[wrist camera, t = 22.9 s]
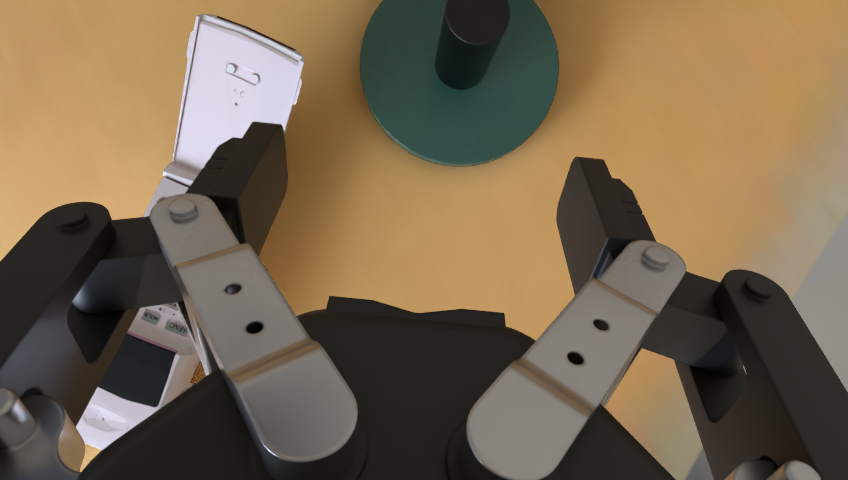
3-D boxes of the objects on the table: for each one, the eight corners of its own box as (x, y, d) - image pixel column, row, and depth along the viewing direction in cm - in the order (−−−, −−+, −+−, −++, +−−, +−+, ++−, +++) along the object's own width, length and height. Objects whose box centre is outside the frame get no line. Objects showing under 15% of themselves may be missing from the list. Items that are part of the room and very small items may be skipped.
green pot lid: (339, 5, 31) (319, -81, 23) (521, -41, 32) (563, -140, 24) (391, 190, 31) (389, 168, 23) (573, 140, 32) (633, 101, 24)
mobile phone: (312, 53, 25) (90, 541, 24) (329, 92, 31) (152, 485, 30) (196, 2, 25) (-33, 491, 24) (236, 52, 31) (55, 445, 30)
